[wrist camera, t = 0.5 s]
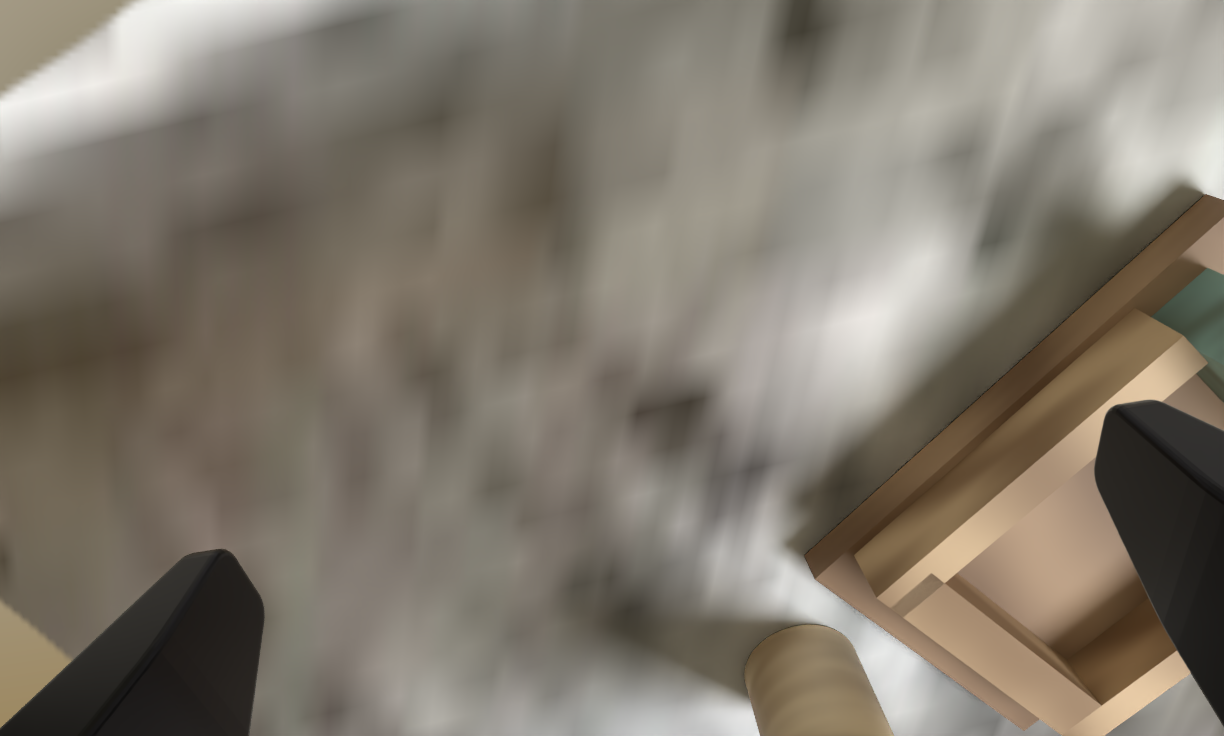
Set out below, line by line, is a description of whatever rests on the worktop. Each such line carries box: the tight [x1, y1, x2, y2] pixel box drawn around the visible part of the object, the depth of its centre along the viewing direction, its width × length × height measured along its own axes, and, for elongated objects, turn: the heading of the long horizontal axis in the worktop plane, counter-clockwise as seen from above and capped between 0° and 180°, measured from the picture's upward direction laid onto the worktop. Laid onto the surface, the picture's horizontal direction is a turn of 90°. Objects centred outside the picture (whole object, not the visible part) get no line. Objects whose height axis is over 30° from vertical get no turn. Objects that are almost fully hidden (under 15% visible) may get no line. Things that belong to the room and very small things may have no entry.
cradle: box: [804, 194, 1224, 736], centre depth 25 cm, size 16×11×6 cm
